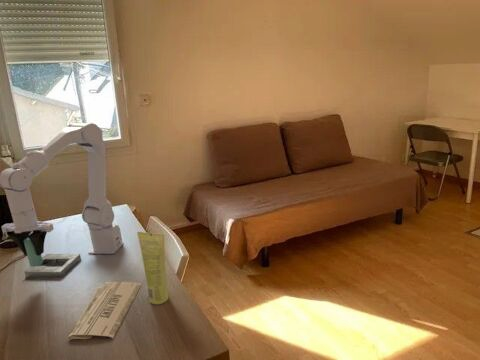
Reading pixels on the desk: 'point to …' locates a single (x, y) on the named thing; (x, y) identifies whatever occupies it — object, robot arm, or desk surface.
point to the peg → (32, 253)
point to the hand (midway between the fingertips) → (34, 253)
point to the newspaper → (105, 310)
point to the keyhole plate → (53, 272)
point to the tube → (154, 266)
